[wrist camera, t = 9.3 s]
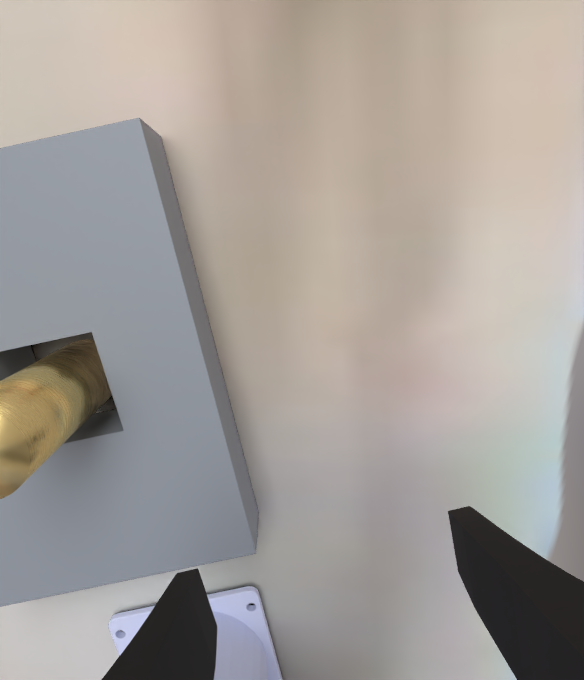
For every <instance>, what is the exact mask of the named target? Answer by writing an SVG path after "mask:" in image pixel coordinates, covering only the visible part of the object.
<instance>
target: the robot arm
mask: <svg viewBox="0 0 584 680" xmlns="http://www.w3.org/2000/svg"><path fill="white" fill-rule="evenodd" d="M448 514H449V520H450V525H451V531H452V537H453V543H454V549H455V555H456V561H457V566H458V572H459V574H460V576H461V579H462V581H463V583H464V585H465V588H466V590H467V592H468V594H469V596H470V598H471V601H472V603H473V605H474V607H475V609H476V611H477V612H478V614H479V616H480V618H481V619H482V621H483V623H484V624H485V626H486V628H487V630H488V631H489V633H490V635H491V636H492V638H493V640H494V641H495V643H496V645H497V647H498V648H499V650H500V652H501V653H502V655H503V657H504V658H505V660H506V662H507V663H508V665H509V667H510V668H511V670H512V672H513V673H514V675H515V677H516V678H517V680H584V582H583V581H581V580H580V579H577V578H576V577H574V576H572V575H571V574H569V573H567V572H565V571H564V570H562V569H561V568H559V567H557V566H556V565H554V564H552V563H551V562H549V561H547V560H546V559H544V558H543V557H541V556H540V555H538V554H537V553H535V552H534V551H532V550H531V549H529V548H528V547H526V546H525V545H523V544H522V543H520V542H519V541H517V540H516V539H514V538H513V537H511V536H510V535H509V534H507V533H506V532H504V531H503V530H502V529H500V528H499V527H497V526H496V525H495V524H493V523H492V522H491V521H489V520H488V519H487V518H485V517H484V516H483V515H481V514H480V513H479V512H477V511H476V510H475V509H473V508H472V507H470V506H468V507H464V508H460V509H455V510H451V511H448ZM249 603H253V604H255V605H249ZM108 627H109V630H110V633H111V635H112V638H113V641H114V643H115V646H116V649H117V651H118V654H119V658H118V659H117V660H116V662H115V663H114V664H113V666H112V667H111V668H110V670H109V671H108V672H107V674H106V675H105V676H104V677H103V679H102V680H283V679H282V675H281V672H280V668H279V664H278V661H277V657H276V653H275V650H274V646H273V642H272V639H271V635H270V631H269V628H268V624H267V620H266V617H265V613H264V609H263V606H262V602H261V598H260V595H259V592H258V590H257V589H256V588H255V587H252V586H247V587H242V588H237V589H232V590H228V591H223V592H218V593H213V594H208V595H207V594H206V591H205V588H204V585H203V582H202V579H201V576H200V573H199V570H198V569H194V570H189V571H185V572H181V573H177V574H176V576H175V577H174V578H173V580H172V581H171V583H170V584H169V586H168V587H167V589H166V590H165V592H164V593H163V595H162V596H161V598H160V599H159V601H158V602H157V604H156V605H155V606H150V607H146V608H141V609H136V610H131V611H126V612H121V613H117V614H114V615H113V616H112V617H111V619H110V621H109V624H108ZM119 630H122V631H124V632H121V631H119Z"/></svg>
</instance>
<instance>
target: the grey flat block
mask: <svg viewBox="0 0 584 680" xmlns="http://www.w3.org/2000/svg"><path fill="white" fill-rule="evenodd" d="M89 332H92V335H93V338H94V341H95V344H96V347H97V350H98V353H99V356H100V359H101V362H102V365H103V368H104V371H105V374H106V378H107V381H108V384H109V387H110V390H111V393H112V396H113V399H114V402H115V405H116V408H117V409H116V410H111V411H106V412H102V413H97V414H93V415H92V416H91V417H90V418H89V419H88V420H87V421H86V422H84V423H83V424H82V425H81V426H80V427H79V428H78V429H77V430H76V431H75V432H74V433H73V434H72V435H71V436H70V437H69V438H68V439H67V440H66V441H65V442H64V443H63V444H62V445H61V446H60V447H59V448H58V449H57V450H56V451H55V452H54V453H53V454H52V455H51V456H50V457H49V458H48V459H47V460H46V461H45V462H44V463H43V464H42V465H41V466H40V467H39V468H38V469H37V470H36V471H35V472H34V473H33V474H32V475H31V476H30V477H29V478H28V479H27V480H26V481H25V482H24V483H23V484H22V485H21V486H20V487H19V488H18V489H17V490H16V491H15V492H13V493H12V494H10V495H9V496H7V497H5V498H2V499H0V607H1V606H6V605H11V604H16V603H21V602H26V601H30V600H35V599H40V598H45V597H50V596H54V595H59V594H64V593H69V592H74V591H78V590H83V589H88V588H93V587H98V586H102V585H107V584H112V583H117V582H122V581H127V580H131V579H136V578H141V577H146V576H151V575H155V574H160V573H165V572H170V571H175V570H179V569H184V568H189V567H194V566H199V565H204V564H208V563H213V562H218V561H223V560H228V559H232V558H237V557H242V556H247V555H252V554H256V547H257V529H258V508H257V504H256V501H255V497H254V493H253V489H252V485H251V481H250V478H249V474H248V470H247V466H246V462H245V458H244V454H243V451H242V447H241V443H240V439H239V435H238V431H237V428H236V424H235V420H234V416H233V412H232V408H231V404H230V401H229V397H228V393H227V389H226V385H225V381H224V378H223V374H222V370H221V366H220V362H219V358H218V354H217V351H216V347H215V343H214V339H213V335H212V331H211V328H210V324H209V320H208V316H207V312H206V308H205V304H204V301H203V297H202V293H201V289H200V285H199V281H198V277H197V274H196V270H195V266H194V262H193V258H192V254H191V251H190V247H189V243H188V239H187V235H186V231H185V227H184V224H183V220H182V216H181V212H180V208H179V204H178V201H177V197H176V193H175V189H174V185H173V181H172V177H171V174H170V170H169V166H168V162H167V158H166V154H165V151H164V147H163V143H162V139H161V136H160V135H159V134H158V133H156V132H155V131H154V130H153V129H152V128H151V127H149V126H148V125H147V124H146V123H145V122H144V121H142V120H141V119H140V118H136V119H131V120H127V121H122V122H117V123H113V124H108V125H104V126H99V127H95V128H90V129H86V130H81V131H77V132H72V133H67V134H63V135H58V136H54V137H49V138H45V139H40V140H36V141H31V142H26V143H22V144H17V145H13V146H8V147H4V148H0V381H1V380H3V379H5V378H7V377H9V376H11V375H12V374H14V373H16V372H18V371H20V370H22V369H24V368H25V367H27V366H29V365H31V364H33V363H35V362H36V359H35V356H34V354H33V351H32V348H31V345H33V344H38V343H43V342H47V341H52V340H57V339H61V338H66V337H71V336H75V335H80V334H85V333H89Z"/></svg>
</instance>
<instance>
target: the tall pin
mask: <svg viewBox="0 0 584 680" xmlns="http://www.w3.org/2000/svg"><path fill="white" fill-rule="evenodd" d="M111 396H112V393H111V390H110V387H109V384H108V381H107V378H106V374H105V371H104V368H103V365H102V362H101V359H100V356H99V353H98V350H97V347H96V344H95V341H94V340H78V341H75V342H72V343H70V344H68V345H66V346H65V347H63V348H61V349H59V350H57V351H55V352H53V353H51V354H50V355H48V356H46V357H44V358H42V359H40V360H38V361H37V362H35V363H33V364H31V365H29V366H27V367H25V368H24V369H22V370H20V371H18V372H16V373H14V374H12V375H11V376H9V377H7V378H5V379H3V380H1V381H0V499H2V498H5V497H7V496H9V495H10V494H12V493H13V492H15V491H16V490H17V489H18V488H19V487H20V486H21V485H22V484H23V483H24V482H25V481H26V480H27V479H28V478H29V477H30V476H31V475H32V474H33V473H34V472H35V471H36V470H37V469H38V468H39V467H40V466H41V465H42V464H43V463H44V462H45V461H46V460H47V459H48V458H49V457H50V456H51V455H52V454H53V453H54V452H55V451H56V450H57V449H58V448H59V447H60V446H61V445H62V444H63V443H64V442H65V441H66V440H67V439H68V438H69V437H70V436H71V435H72V434H73V433H74V432H75V431H76V430H77V429H78V428H79V427H80V426H81V425H82V424H83V423H84V422H86V421H87V420H88V419H89V418H90V417H91V416H92V415H93V414H94V413H95V412H96V411H97V410H98V409H99V408H100V407H101V406H102V405H103V404H104V403H105V402H106V401H107V400H108V399H109V398H110V397H111Z"/></svg>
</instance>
